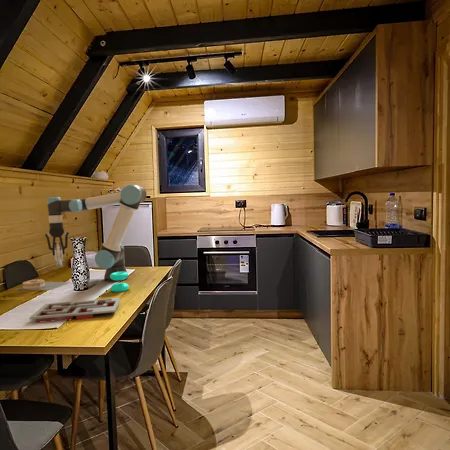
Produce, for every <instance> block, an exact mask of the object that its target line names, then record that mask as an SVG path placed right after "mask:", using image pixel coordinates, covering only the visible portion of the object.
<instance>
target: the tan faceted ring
mask: <svg viewBox="0 0 450 450" xmlns="http://www.w3.org/2000/svg"><path fill="white" fill-rule="evenodd" d="M44 282H45V279H43V278H42V279H41V278H40V279H38V278H37V279H30V280H26V281H23V282H22V287H23V288H24V289H33V288H39V287H42V286H44V285H45V283H44Z"/></svg>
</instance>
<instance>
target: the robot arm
mask: <svg viewBox="0 0 450 450" xmlns="http://www.w3.org/2000/svg"><path fill="white" fill-rule="evenodd" d="M146 199H147V191H146V189H145V187H143V186H141V185H138V184H137V185H136V184H134V183H133V184H127V185H125V186H123V188H122V189H121V191H119V192H113V193H107V194H103V195H98V196H92V197H86V198H81V199H79V198H78V199H75V198H74V199H62V198H61V197H60V196H53V197H51V196H49V197H47V201H46V202H47V203H46V204H47V212H48V213H47V214H48V225H49V231H48V232H47V233H45V234H44V236H45V237H46V242H47V247H48V250H49V251H52V256H53V257H54V260H55V262H57V256H56V249H55V242H56V238H58V239H59V242H60V243H61V257H62V261H64V255H65V253H66V252H65V249H67V248H68V238H69V237H68V236H69V235H70V234H69V231H65V230H64V224H63V213H76V212H77V213H79V212H85V211H88V210H93V209H100V208H106V207H110V206H116V205H118V206H120V207H119V208H118V211H117V214H116V216H115V218H114V221H113V224H112V226H111V228H110V232H109V233H108V236H107V238H106V241H105V242H103V243H102V244H101V247H100V249H99V250H98V251H97V252H96V254H95V256H94V262H95V264H96V265H97V267H98V268H101V269H102V270H103V269H105V272H104V277H103V280H104V282H109V283H110V282H121V281H125V280H128V279H129V276H128V277H127V278H126V279H123V280H112V279H111V278H110V275H111V274H112V273H115V272H127V273H128V271H127V268H126V265H125V263H126V261H125V247H124V245H123V244H122V242H123V239H124V238H125V234H126V233H127V230H128V227H129V224H130V223H131V220H132V218H133V214H134V212H135V211H138V210H139V207H140V204H142V203H143V202H145V201H146ZM63 235H64V241H63V238H62V236H63ZM50 236H51V237H52V246H51V241H50Z"/></svg>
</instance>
